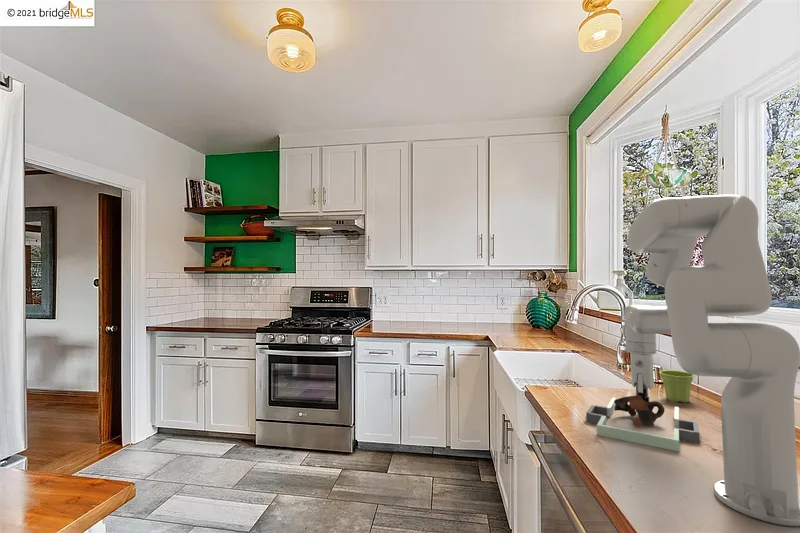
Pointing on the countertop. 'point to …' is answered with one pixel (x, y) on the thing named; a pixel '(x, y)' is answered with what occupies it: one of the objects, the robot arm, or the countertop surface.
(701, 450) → the countertop surface
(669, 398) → the plant pot
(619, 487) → the countertop surface
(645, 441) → the pale green flat frame
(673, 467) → the countertop surface
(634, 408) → the pottery mug
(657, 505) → the countertop surface
